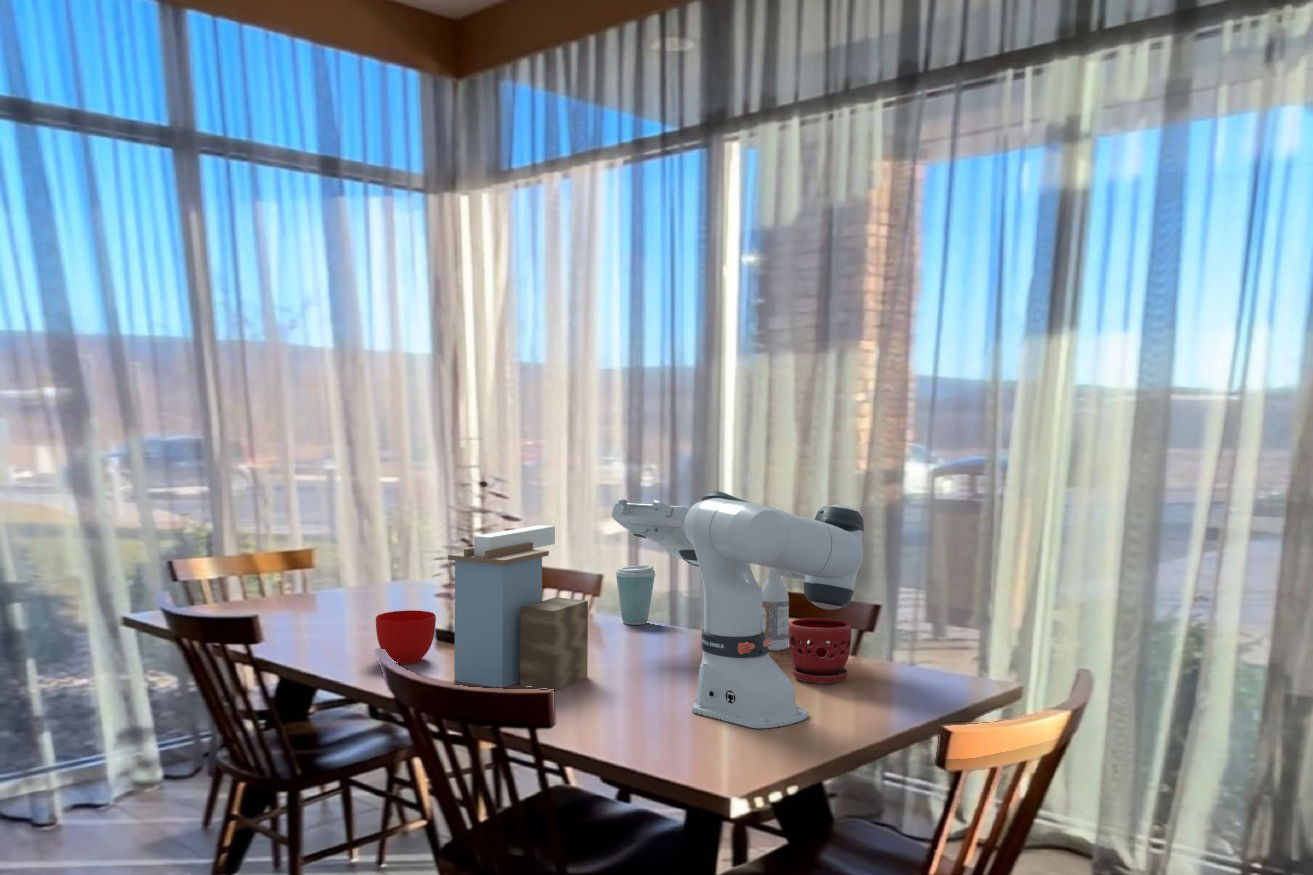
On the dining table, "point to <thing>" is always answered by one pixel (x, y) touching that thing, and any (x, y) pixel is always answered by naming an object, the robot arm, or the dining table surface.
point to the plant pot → (819, 649)
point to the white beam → (514, 538)
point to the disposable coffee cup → (635, 593)
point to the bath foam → (775, 611)
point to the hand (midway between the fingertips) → (638, 503)
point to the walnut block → (553, 643)
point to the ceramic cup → (406, 634)
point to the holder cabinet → (493, 611)
